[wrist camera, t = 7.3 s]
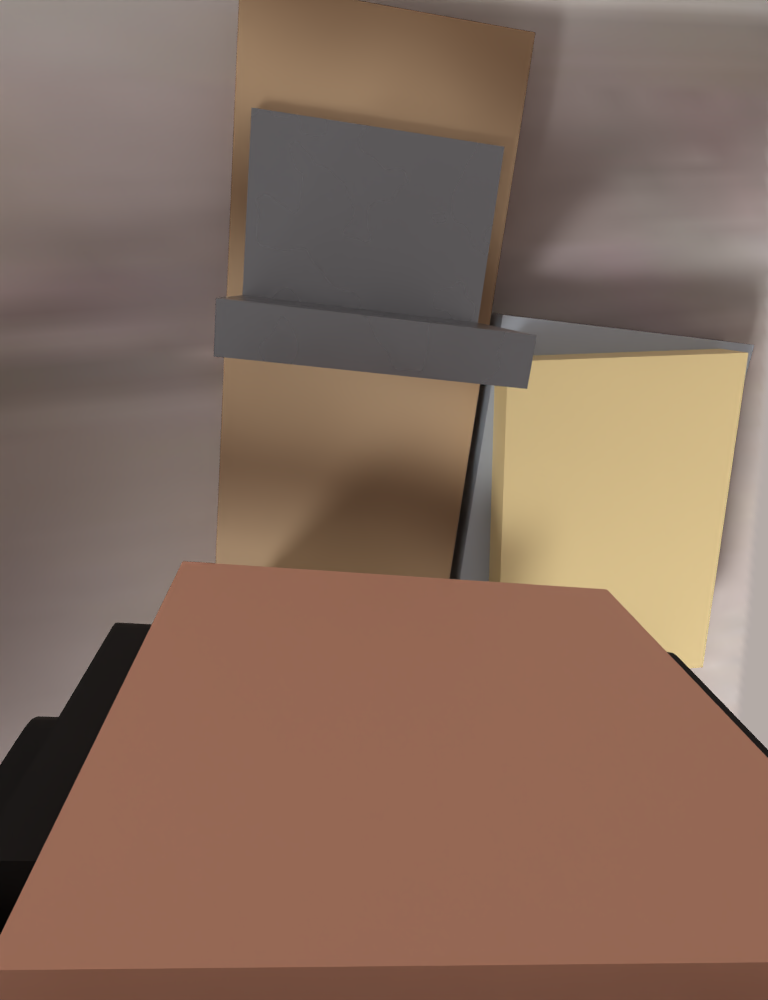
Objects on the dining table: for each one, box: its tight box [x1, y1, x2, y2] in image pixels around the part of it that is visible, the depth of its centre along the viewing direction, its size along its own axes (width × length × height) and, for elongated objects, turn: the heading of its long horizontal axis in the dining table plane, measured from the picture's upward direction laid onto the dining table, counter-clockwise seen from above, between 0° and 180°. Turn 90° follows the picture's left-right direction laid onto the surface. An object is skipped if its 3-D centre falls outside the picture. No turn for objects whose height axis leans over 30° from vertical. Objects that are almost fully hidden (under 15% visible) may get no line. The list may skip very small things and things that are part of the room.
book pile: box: [449, 313, 754, 668], centre depth 23 cm, size 13×9×3 cm
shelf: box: [216, 0, 535, 579], centre depth 17 cm, size 28×8×13 cm, turn 173°
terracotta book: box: [0, 561, 768, 1000], centre depth 8 cm, size 4×6×6 cm, turn 83°
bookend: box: [214, 107, 537, 389], centre depth 16 cm, size 6×7×6 cm
